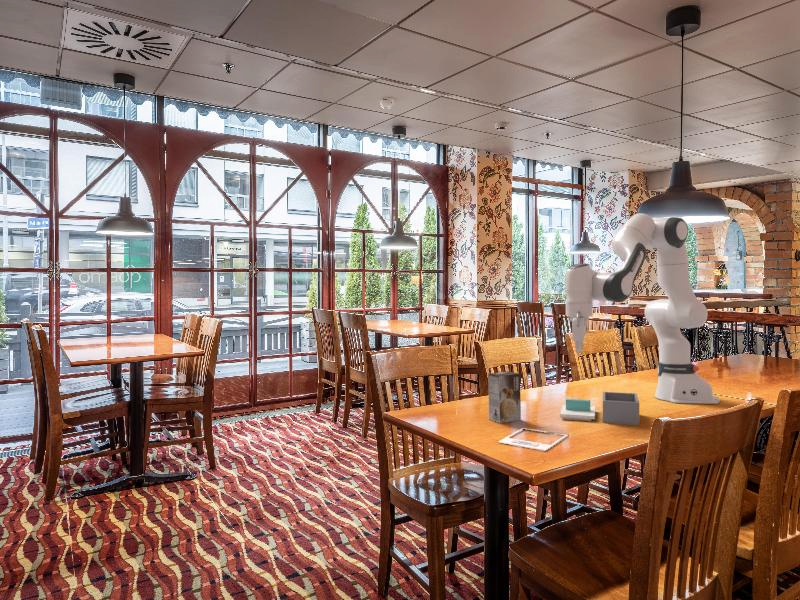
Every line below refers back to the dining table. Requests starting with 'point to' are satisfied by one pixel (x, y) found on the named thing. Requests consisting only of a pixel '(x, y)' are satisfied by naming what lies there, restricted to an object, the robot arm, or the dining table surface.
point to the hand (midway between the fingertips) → (579, 351)
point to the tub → (620, 408)
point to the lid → (578, 410)
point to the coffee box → (504, 396)
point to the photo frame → (530, 444)
